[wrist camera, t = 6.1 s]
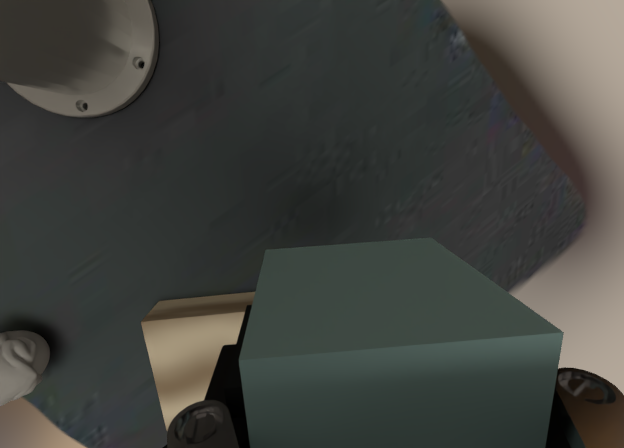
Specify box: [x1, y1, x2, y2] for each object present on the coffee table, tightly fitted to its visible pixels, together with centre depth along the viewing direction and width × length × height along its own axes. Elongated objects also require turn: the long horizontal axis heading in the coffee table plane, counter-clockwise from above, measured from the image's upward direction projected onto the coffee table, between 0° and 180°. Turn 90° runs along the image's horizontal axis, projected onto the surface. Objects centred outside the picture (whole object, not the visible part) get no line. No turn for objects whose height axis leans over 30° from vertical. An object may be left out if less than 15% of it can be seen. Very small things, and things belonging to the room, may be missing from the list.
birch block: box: [141, 292, 255, 430], centre depth 30 cm, size 11×11×4 cm
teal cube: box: [239, 238, 563, 448], centre depth 10 cm, size 6×6×6 cm
